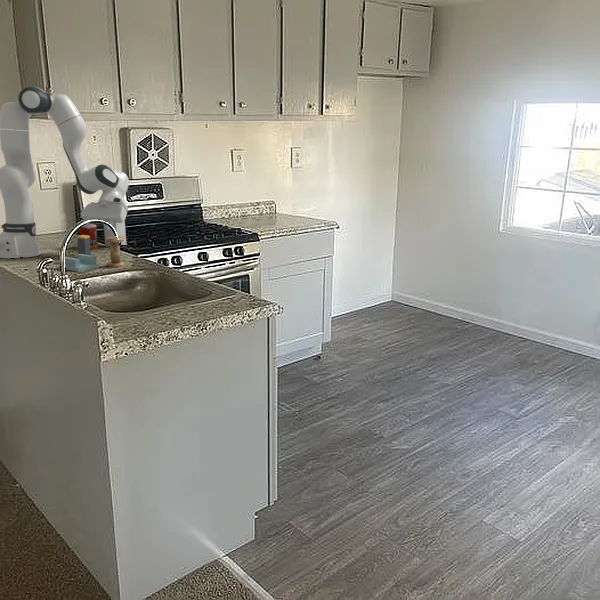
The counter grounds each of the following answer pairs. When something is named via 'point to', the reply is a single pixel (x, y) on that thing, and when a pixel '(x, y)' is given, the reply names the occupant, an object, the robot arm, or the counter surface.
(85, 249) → the dark grey cylinder
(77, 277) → the counter surface
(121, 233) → the skincare box
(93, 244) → the canned food
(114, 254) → the bobbin
